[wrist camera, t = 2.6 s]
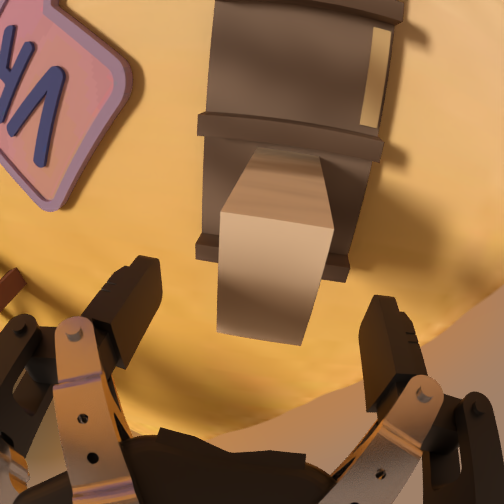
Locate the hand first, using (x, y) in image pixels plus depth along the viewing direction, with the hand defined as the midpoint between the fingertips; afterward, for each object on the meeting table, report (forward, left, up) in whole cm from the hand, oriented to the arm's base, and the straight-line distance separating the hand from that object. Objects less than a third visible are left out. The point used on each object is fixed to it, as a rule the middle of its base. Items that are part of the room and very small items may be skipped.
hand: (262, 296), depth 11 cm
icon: (-9, -20, -11) cm, 25 cm away
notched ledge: (-8, 0, -10) cm, 13 cm away
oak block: (0, 0, -9) cm, 9 cm away
